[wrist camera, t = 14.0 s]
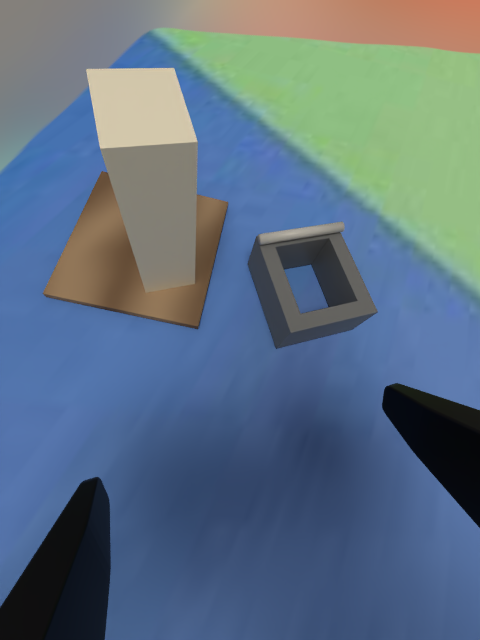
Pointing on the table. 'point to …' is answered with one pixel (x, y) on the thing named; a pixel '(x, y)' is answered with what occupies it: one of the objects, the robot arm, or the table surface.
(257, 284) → the grey hollow square frame
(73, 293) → the board
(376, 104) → the table surface
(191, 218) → the tall pillar on plate
